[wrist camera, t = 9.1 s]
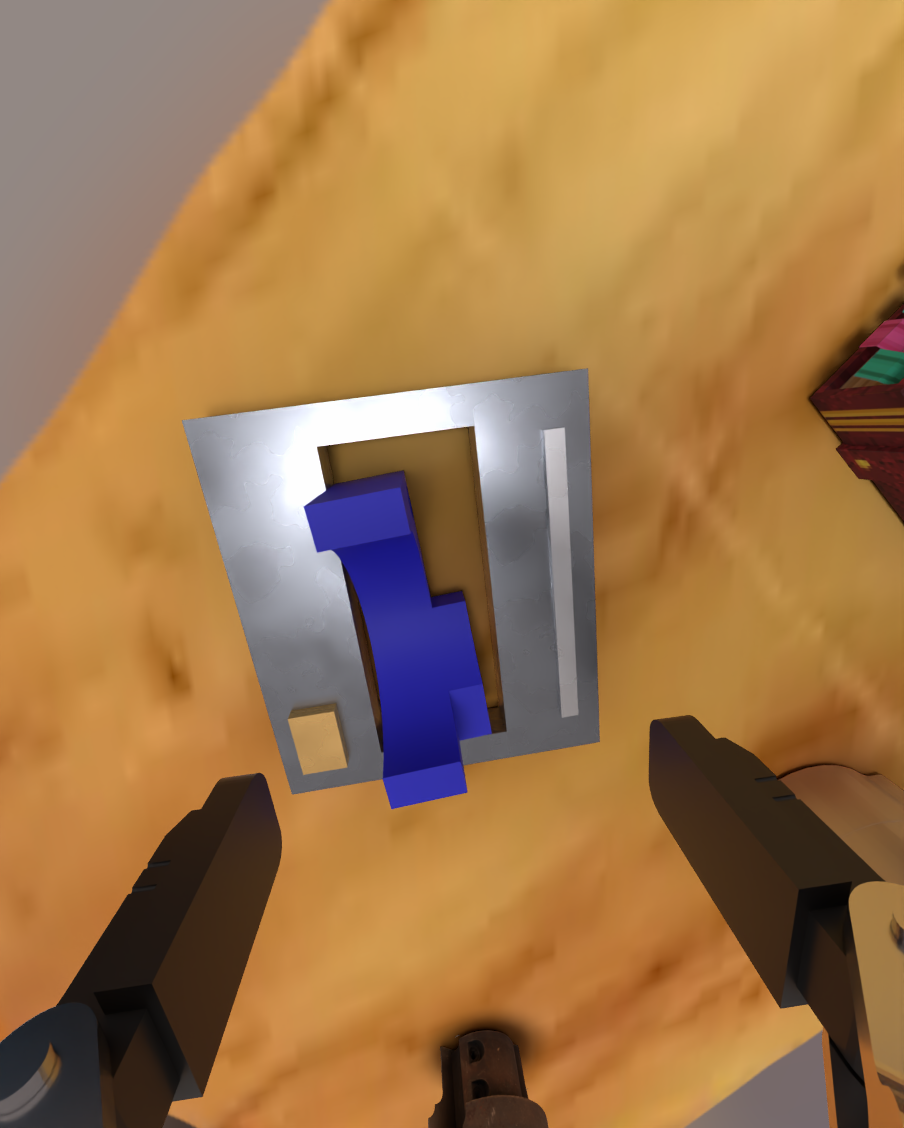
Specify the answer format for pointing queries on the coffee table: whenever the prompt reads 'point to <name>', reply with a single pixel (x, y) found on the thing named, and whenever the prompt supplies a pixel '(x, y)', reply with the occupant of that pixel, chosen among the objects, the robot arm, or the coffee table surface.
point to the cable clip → (406, 637)
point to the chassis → (328, 597)
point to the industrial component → (484, 1086)
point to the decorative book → (871, 409)
